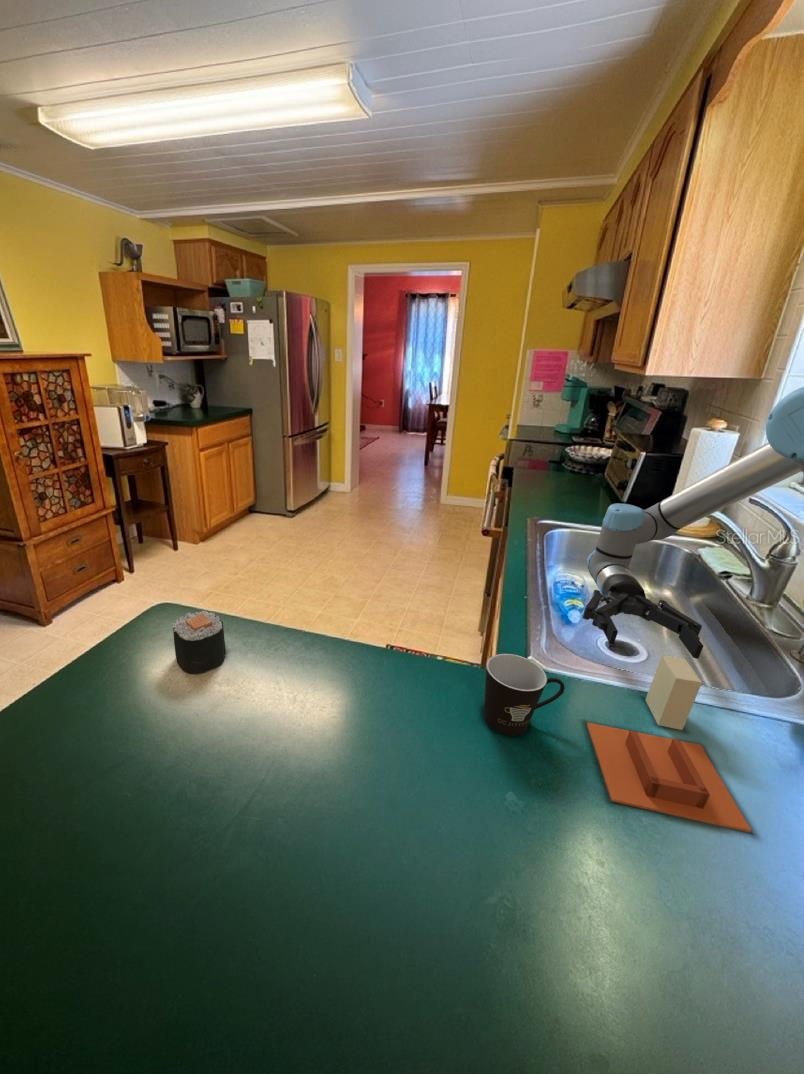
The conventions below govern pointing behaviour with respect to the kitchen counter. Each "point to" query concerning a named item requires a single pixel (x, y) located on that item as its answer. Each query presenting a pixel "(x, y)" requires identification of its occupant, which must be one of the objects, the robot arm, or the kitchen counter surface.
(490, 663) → the coffee mug
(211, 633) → the sushi
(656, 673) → the block
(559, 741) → the kitchen counter surface
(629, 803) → the base pad
